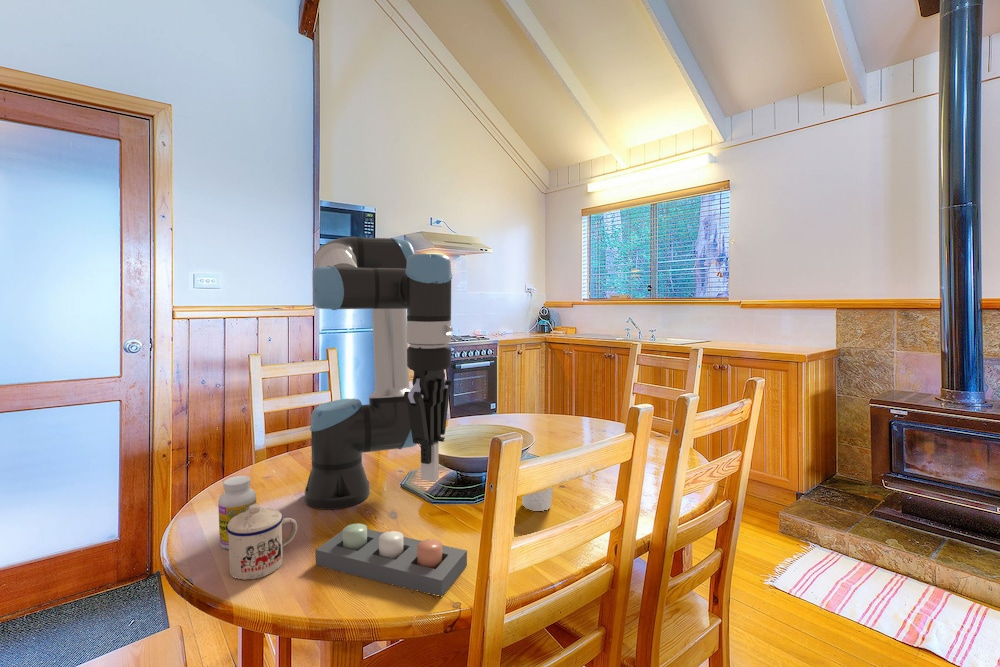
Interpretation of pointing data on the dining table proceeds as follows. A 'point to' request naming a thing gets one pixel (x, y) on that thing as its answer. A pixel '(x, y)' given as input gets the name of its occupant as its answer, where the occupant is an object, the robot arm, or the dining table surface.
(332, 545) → the button console
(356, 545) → the sage button
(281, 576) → the dining table surface
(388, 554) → the cream button
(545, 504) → the white cup
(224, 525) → the supplement bottle
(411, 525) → the dining table surface
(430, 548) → the terracotta button
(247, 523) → the teacup with lid
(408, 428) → the robot arm
